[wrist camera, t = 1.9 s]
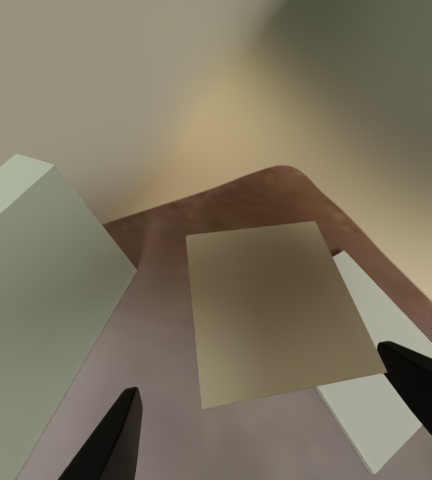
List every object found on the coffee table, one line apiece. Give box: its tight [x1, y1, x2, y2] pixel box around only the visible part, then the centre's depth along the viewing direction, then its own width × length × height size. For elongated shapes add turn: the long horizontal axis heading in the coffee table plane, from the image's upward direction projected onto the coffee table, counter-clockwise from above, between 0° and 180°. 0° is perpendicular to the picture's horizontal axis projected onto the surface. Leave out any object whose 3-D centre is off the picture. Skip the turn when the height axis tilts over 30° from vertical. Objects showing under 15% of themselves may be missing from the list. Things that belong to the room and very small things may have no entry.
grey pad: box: [315, 251, 432, 475], centre depth 17 cm, size 12×10×1 cm
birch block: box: [186, 221, 387, 409], centre depth 11 cm, size 4×5×12 cm
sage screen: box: [0, 154, 138, 480], centre depth 11 cm, size 2×15×12 cm, turn 160°
